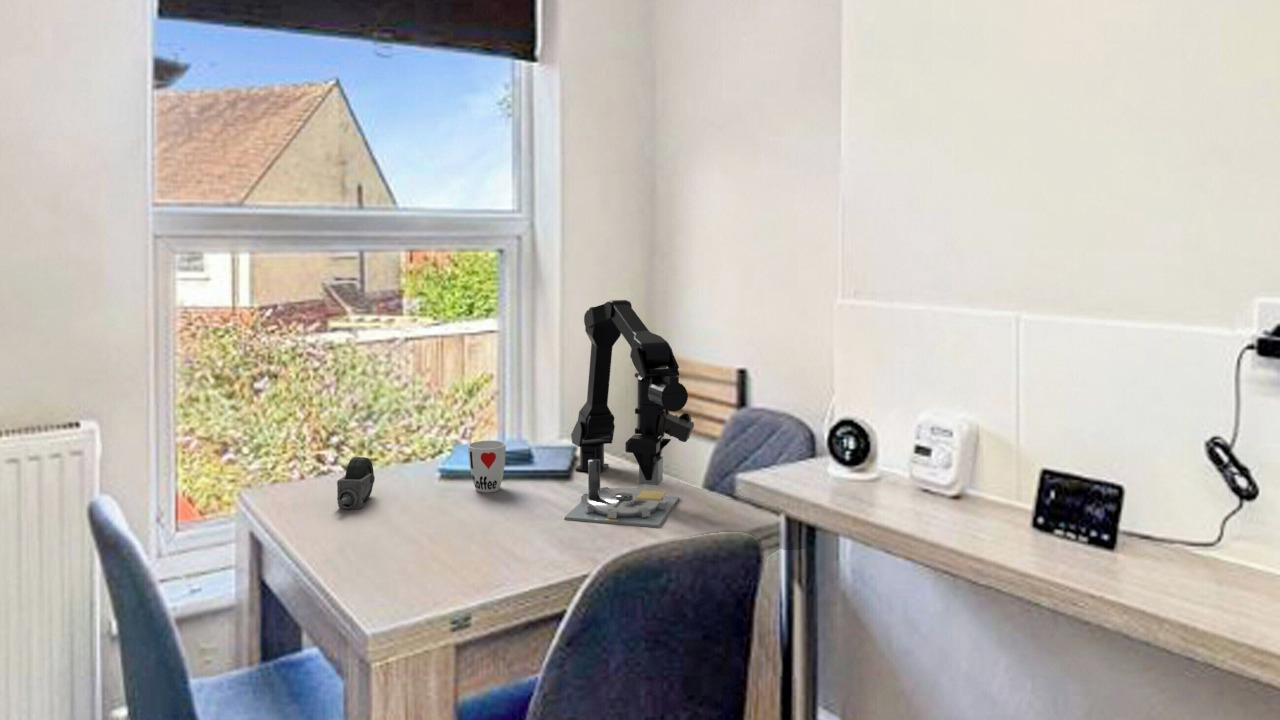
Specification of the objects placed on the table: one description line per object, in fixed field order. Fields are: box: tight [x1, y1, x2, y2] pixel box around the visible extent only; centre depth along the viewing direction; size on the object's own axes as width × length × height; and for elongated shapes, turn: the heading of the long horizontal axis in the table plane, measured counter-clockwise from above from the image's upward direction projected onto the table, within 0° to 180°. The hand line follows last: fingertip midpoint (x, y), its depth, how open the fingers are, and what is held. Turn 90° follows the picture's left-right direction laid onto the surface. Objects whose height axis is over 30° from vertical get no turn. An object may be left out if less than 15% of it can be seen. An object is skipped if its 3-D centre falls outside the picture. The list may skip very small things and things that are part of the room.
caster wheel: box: [336, 456, 376, 510], centre depth 187 cm, size 6×10×15 cm
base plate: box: [564, 495, 680, 529], centre depth 184 cm, size 19×19×1 cm
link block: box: [638, 455, 664, 486], centre depth 185 cm, size 4×4×5 cm
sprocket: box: [580, 459, 667, 519], centre depth 184 cm, size 18×18×10 cm
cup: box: [467, 440, 507, 493], centre depth 197 cm, size 8×8×10 cm
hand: (651, 477), depth 185 cm, fingers closed on link block, 4 cm apart
